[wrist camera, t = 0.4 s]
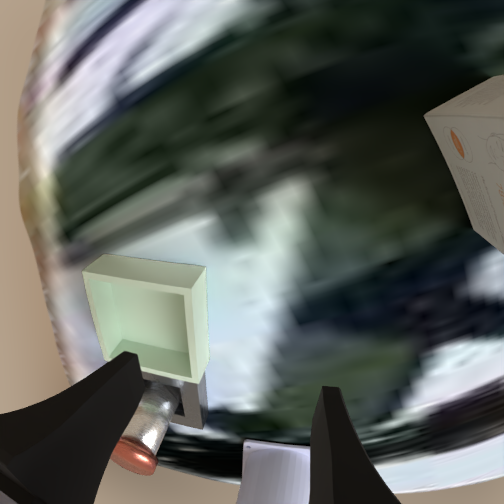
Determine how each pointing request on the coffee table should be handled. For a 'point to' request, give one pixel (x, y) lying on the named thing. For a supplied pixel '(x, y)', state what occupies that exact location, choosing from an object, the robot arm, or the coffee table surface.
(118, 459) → the lock pin
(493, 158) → the small box
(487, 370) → the coffee table surface
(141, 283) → the tray
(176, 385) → the block
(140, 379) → the robot arm
